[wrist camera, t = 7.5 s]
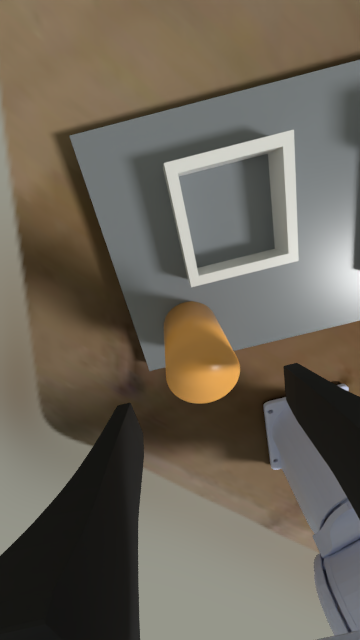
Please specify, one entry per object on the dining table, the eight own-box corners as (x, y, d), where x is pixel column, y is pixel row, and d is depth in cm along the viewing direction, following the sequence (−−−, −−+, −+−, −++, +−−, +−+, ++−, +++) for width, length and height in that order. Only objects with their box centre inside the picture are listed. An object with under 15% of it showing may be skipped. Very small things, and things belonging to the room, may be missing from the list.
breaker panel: (431, 294, 21) (475, 308, 18) (150, 362, 22) (148, 387, 19) (481, 34, 15) (562, -9, 12) (75, 140, 15) (56, 125, 12)
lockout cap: (220, 342, 20) (244, 394, 15) (170, 354, 20) (175, 410, 15) (211, 295, 18) (234, 333, 13) (157, 308, 18) (157, 352, 13)
